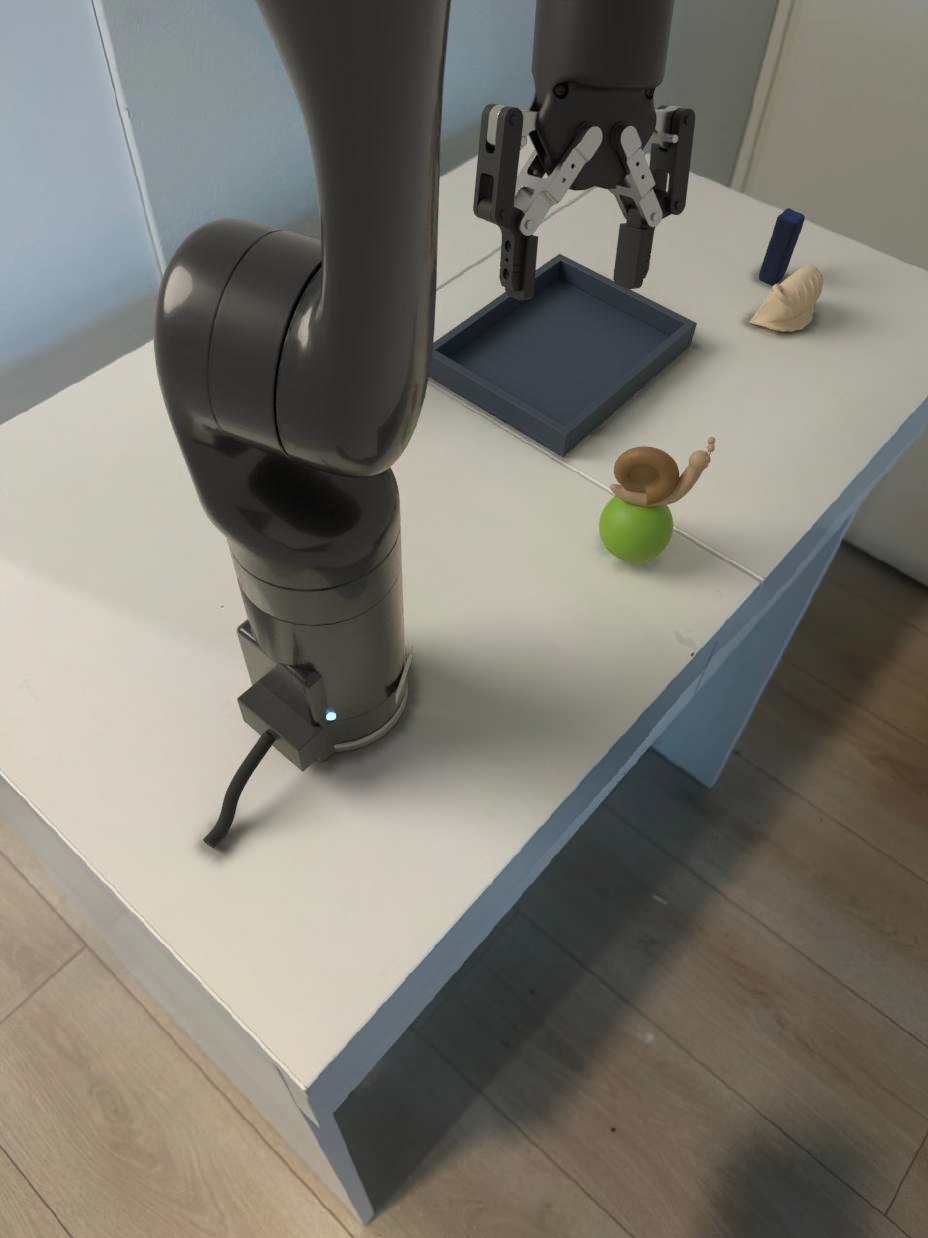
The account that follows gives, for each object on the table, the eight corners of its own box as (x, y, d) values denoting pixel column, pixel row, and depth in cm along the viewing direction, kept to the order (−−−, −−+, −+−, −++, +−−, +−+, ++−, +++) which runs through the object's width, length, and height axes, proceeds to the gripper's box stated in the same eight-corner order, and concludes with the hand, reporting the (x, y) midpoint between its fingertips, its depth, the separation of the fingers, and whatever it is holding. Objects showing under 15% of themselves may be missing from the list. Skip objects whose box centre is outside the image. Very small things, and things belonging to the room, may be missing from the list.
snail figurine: (675, 585, 70) (714, 470, 61) (590, 570, 71) (615, 454, 61) (680, 531, 74) (718, 414, 64) (598, 517, 74) (624, 399, 64)
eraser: (766, 268, 94) (787, 205, 89) (786, 278, 94) (808, 214, 88) (755, 278, 93) (775, 214, 88) (774, 288, 93) (796, 224, 87)
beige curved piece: (825, 313, 90) (845, 263, 86) (772, 349, 87) (790, 299, 83) (790, 293, 92) (808, 243, 88) (737, 327, 89) (753, 277, 84)
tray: (562, 457, 78) (566, 435, 76) (422, 372, 84) (422, 349, 82) (691, 345, 87) (697, 322, 85) (556, 275, 93) (559, 252, 91)
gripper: (537, -25, 45) (513, 317, 54) (751, -8, 52) (699, 296, 61) (458, -24, 51) (448, 287, 60) (661, -8, 57) (625, 270, 66)
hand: (574, 291), depth 60 cm, fingers open, 8 cm apart
